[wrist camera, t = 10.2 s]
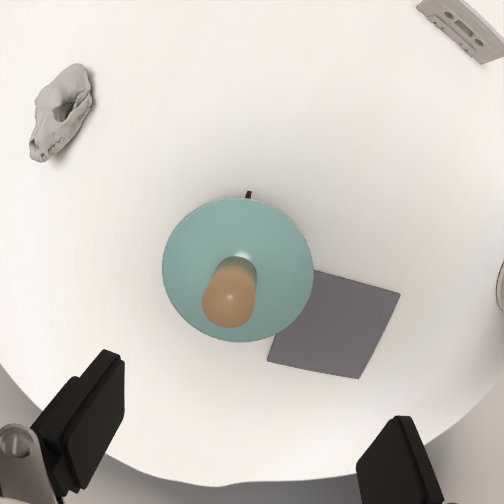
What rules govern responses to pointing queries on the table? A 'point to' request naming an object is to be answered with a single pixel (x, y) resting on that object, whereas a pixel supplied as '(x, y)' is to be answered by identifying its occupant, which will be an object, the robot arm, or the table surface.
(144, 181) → the table surface
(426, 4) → the cassette
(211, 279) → the lid
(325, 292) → the mat
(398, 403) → the table surface
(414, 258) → the table surface
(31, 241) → the table surface
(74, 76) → the skull
